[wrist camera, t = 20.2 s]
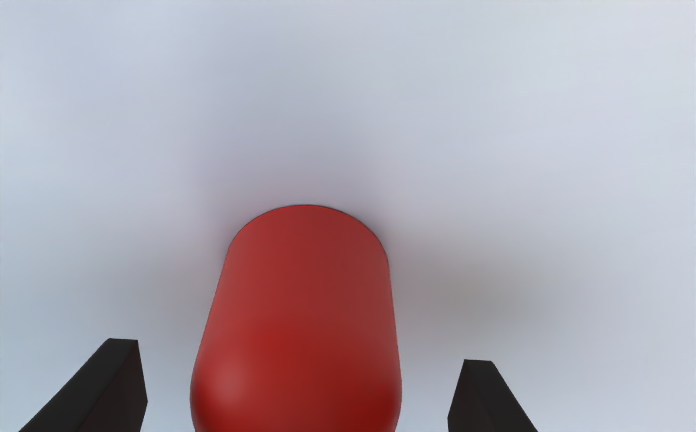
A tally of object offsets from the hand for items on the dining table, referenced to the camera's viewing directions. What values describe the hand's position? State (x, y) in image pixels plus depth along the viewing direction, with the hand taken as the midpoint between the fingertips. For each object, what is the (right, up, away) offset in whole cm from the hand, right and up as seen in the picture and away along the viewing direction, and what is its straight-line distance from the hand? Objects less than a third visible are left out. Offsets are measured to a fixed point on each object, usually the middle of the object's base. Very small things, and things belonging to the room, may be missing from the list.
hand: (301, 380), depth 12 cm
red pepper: (0, +2, +3) cm, 4 cm away
